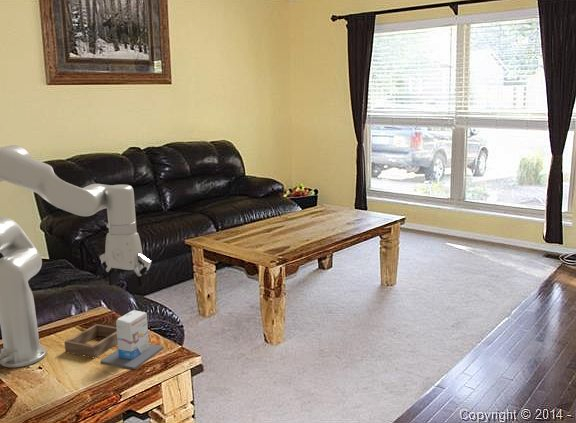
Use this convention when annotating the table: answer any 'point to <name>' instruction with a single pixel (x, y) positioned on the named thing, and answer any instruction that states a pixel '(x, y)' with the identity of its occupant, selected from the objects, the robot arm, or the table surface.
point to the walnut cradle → (78, 341)
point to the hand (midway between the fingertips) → (127, 285)
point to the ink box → (132, 334)
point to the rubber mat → (134, 363)
